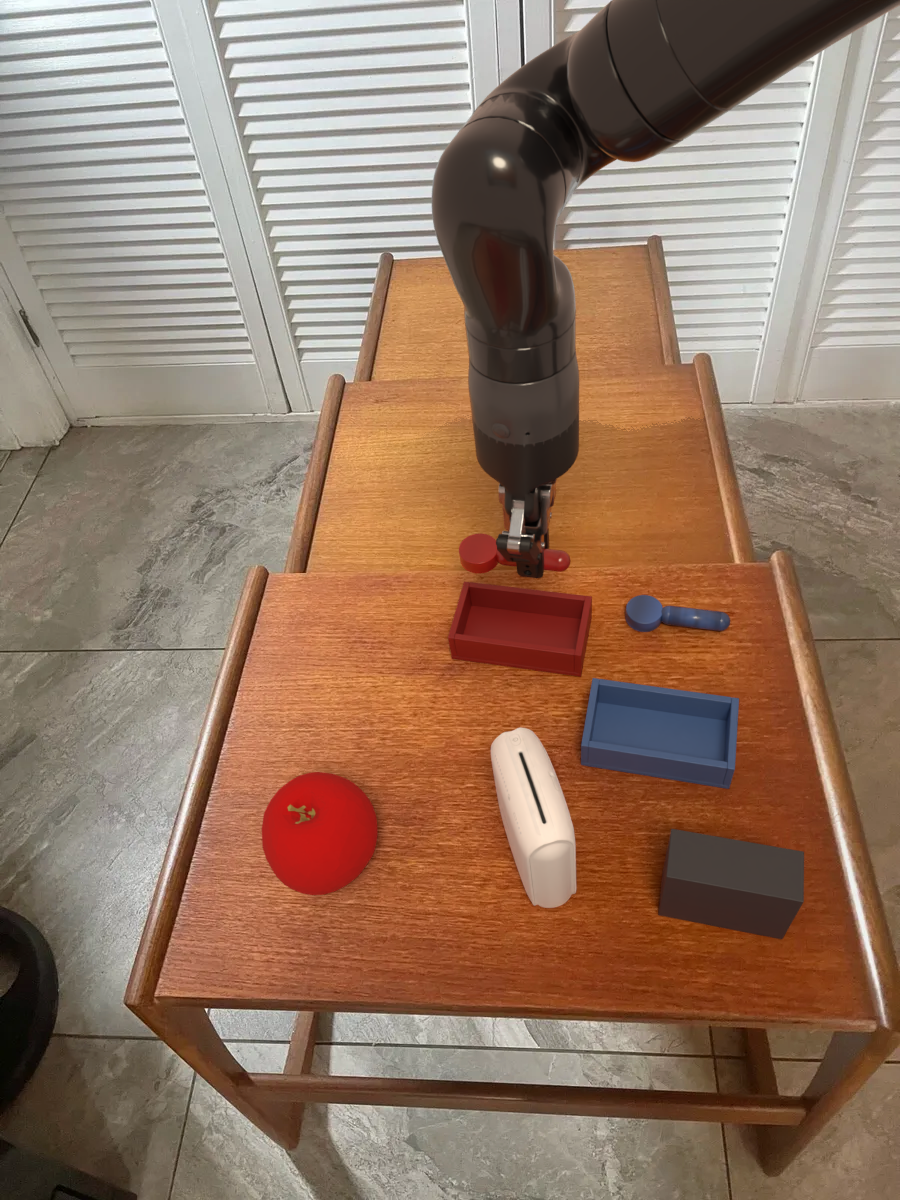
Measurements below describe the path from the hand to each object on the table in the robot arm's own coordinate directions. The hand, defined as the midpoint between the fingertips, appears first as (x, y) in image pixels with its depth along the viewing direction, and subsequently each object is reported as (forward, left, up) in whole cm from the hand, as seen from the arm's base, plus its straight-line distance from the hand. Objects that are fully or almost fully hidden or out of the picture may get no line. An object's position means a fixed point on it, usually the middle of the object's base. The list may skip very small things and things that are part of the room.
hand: (533, 562), depth 76 cm
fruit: (+13, +24, -12) cm, 30 cm away
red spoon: (+2, 0, 0) cm, 2 cm away
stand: (-18, +22, -12) cm, 30 cm away
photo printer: (-4, +20, -12) cm, 23 cm away
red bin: (+1, 0, -12) cm, 12 cm away
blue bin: (-12, +9, -12) cm, 19 cm away
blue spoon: (-12, -4, -12) cm, 17 cm away
